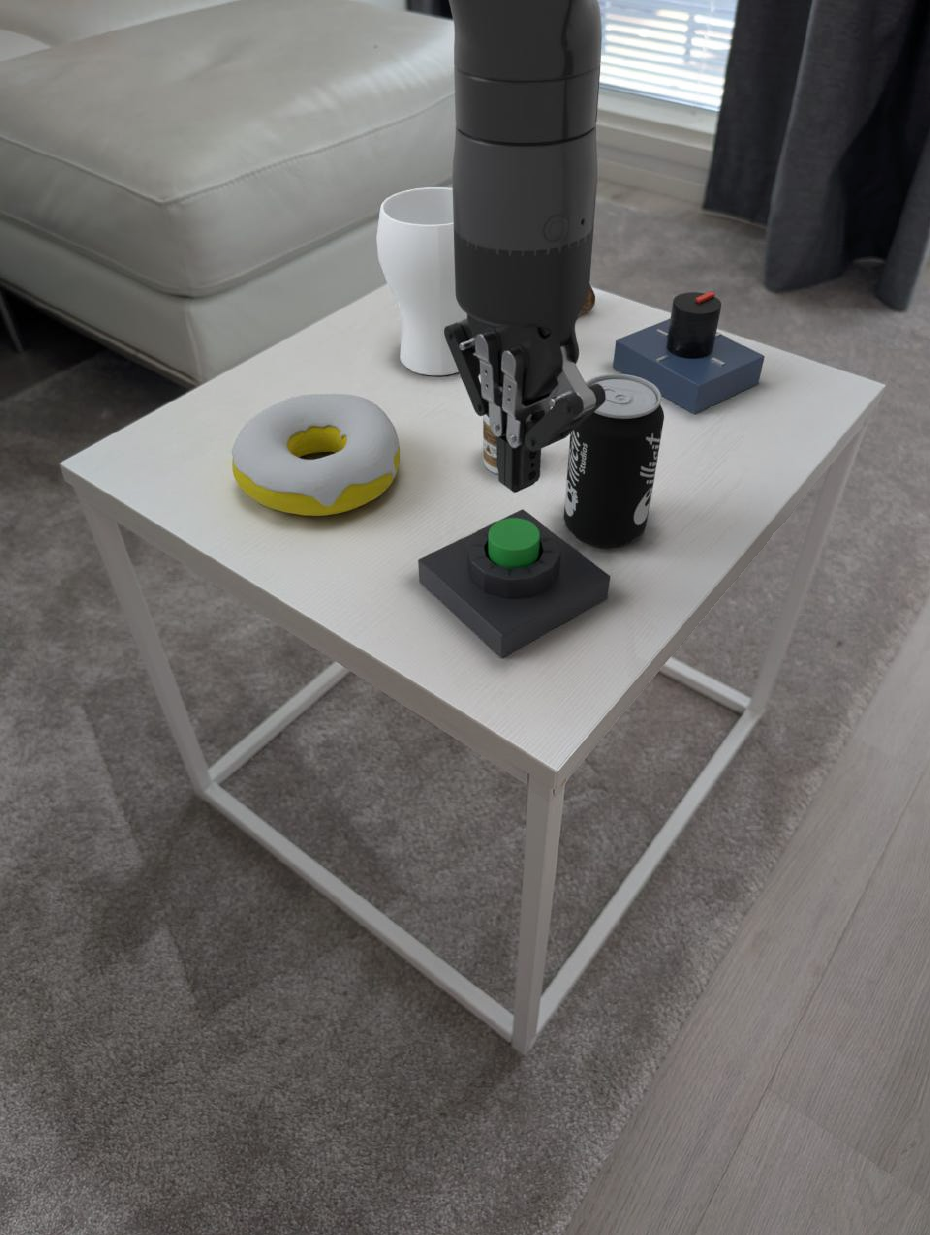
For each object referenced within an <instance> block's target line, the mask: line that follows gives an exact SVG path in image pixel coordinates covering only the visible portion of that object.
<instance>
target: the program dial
mask: <svg viewBox="0 0 930 1235" xmlns="http://www.w3.org/2000/svg"><path fill="white" fill-rule="evenodd" d="M721 309H722V301H721V300H720V299H719V298H718V297H716V293H714V292H712V291H708V292H707V293H704V292H698V291H692V292H691V291H689V292H683V293H680V294H677V295H676V296H675V297H674V298H673V300H672V305H671V312H670V318H669V319H670V325H669V331H668V338H667V344H666V346H667V349H668V350H669V351H670V352H671V353H673V354H675V355H677V356H680V357H685V358H701V357H705V356H707V355H709V354H710V353H711V352H712V351H713V346H714V341H715V336H716V332H718V331H717V330H718V325H719V319H720V315H721Z"/></svg>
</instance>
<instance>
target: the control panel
mask: <svg viewBox="0 0 930 1235" xmlns="http://www.w3.org/2000/svg"><path fill="white" fill-rule="evenodd" d="M669 325H670V318H668V319H667V318H666V319H665V320H662V321H660V322H658V323H655V324H653V325H651V326H647V327H645V328H643V329H640V330H638V331H635V332H633V333H631V334H628V335H626V336H623V337H621V338H618V339H616V340H615V345H614V355H613V364H612V369H614V370H616V371H618V372H620V373H621V374H627V375H633V376H637V377H640V378H643V379H645V380H647V381H649V382H651V383H652V384H654V385H655V386H656V387H657V388H658V390H659V391H660V394H661V397H663V398H666V399H667V400H668V401H671V403H674V404H676V405H677V406H679V407H681V408H683V409H685V410H686V411H688V412H689V413H691V414H693V415H695V414H697V413H699V412H702V411H704V410H706V409H709V408H710V407H712V406H714V405H716V404H719V403H721V402H723V401H725V400H728V399H729V398H732V397H733V396H735V395H737V394H740V393H742V392H744V391H747V390H748V389H751V388H753V387H754V386H756V385H758V384H759V383H760V378H761V375H762V370H763V366H764V362H765V357H766V356H765V355H764V354H762V353H760V352H759V351H755V350H754V349H752V348H750V347H748V346H745V345H744V344H742V343H740V342H738V341H735V340H733V339H731V338H730V337H728V336H725V335H723V334H722V333H721V332H718V331H716V336H715V341H714V346H713V351H712V352H711V353H710V354H709V355H707V356H705V357H701V358H685V357H680V356H677V355H675V354H673V353H671V352H670V351H669V350H668V349H667V346H666V344H667V338H668V331H669Z"/></svg>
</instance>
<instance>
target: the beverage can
mask: <svg viewBox="0 0 930 1235" xmlns="http://www.w3.org/2000/svg"><path fill="white" fill-rule="evenodd" d="M585 382H586V384H587V386H588V387H589V386H591V385H593V384H599V385H601V386H602V387H603V389H604V391H605V394H606V400H605V402H604V403H603V404H602V405H601V406H600V407H599V408H598V409H597V410H595V411H594V412H593V413H592V414H591V415H590V416H589V417H588V418H587V419H586V420H584V421H583V422H582V423H581V424H580V425H579V426H578V427H577V428H576V429H574V430H573V431H572V432H571V433H570V434H569V443H568V444H569V445H568V455H567V456H568V457H567V469H566V481H565V492H564V493H565V494H564V504H563V505H564V506H563V521H564V525H565V527H566V528H567V530H568V531H569V532H570V533H571V534H572V535H573V536H574V537H575V538H576V539H577V540H578V541H580V542H582V543H584V544H586V545H588V546H591V547H595V548H600V549H613V548H614V549H615V548H620V547H623V546H626V545H628V544H630V543H632V542H633V541H635V540H636V539H638V538H639V537H640V536H641V535H642V534H643V533H644V531H645V530H646V528H647V525H648V518H649V513H650V508H651V507H650V506H651V502H652V501H651V500H652V494H653V488H654V482H655V476H656V470H657V463H658V458H659V450H660V446H661V440H662V434H663V428H664V422H665V412H664V409H663V407H662V405H661V401H662V395H661V394H660V391H659V390H658V388H657V387H656V386H655V385H654V384H652V383H651V382H649V381H647V380H645V379H643V378H640V377H637V376H633V375H627V374H623V373H607V374H606V373H605V374H600V375H597V376H595V377H592V378H590V379H588V380H586V381H585Z"/></svg>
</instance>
